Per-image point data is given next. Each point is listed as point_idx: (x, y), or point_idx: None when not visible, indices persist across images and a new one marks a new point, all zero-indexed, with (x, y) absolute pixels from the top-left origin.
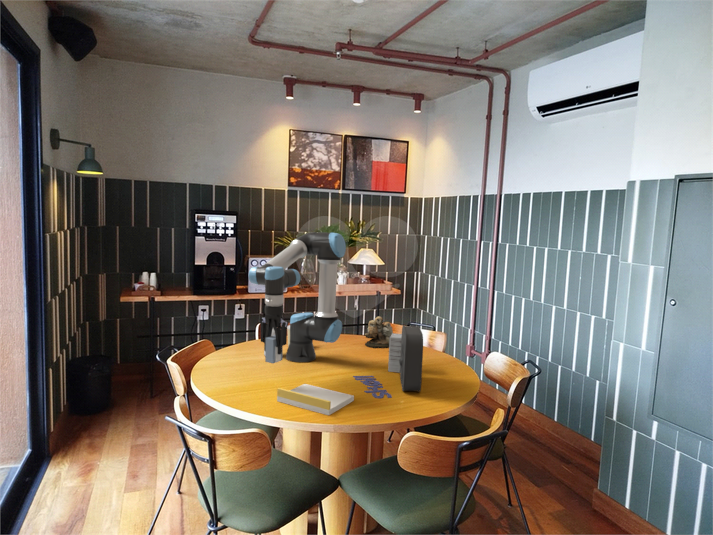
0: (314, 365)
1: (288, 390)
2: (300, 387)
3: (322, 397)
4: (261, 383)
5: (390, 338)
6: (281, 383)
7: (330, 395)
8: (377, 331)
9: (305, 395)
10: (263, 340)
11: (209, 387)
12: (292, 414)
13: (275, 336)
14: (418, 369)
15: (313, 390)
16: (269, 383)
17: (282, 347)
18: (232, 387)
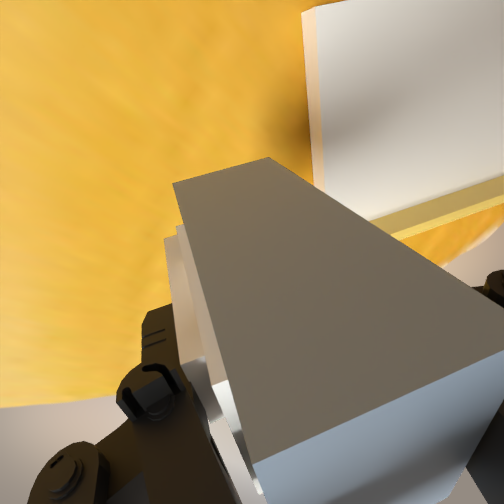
0: None
1: (392, 234)
2: (337, 87)
3: (476, 105)
4: (69, 168)
5: None
6: (138, 63)
7: (499, 52)
8: None
9: (468, 212)
10: (141, 501)
11: (7, 381)
12: (415, 251)
13: (378, 467)
14: None
15: (410, 65)
16: (96, 128)
17: (341, 205)
18: (59, 310)
